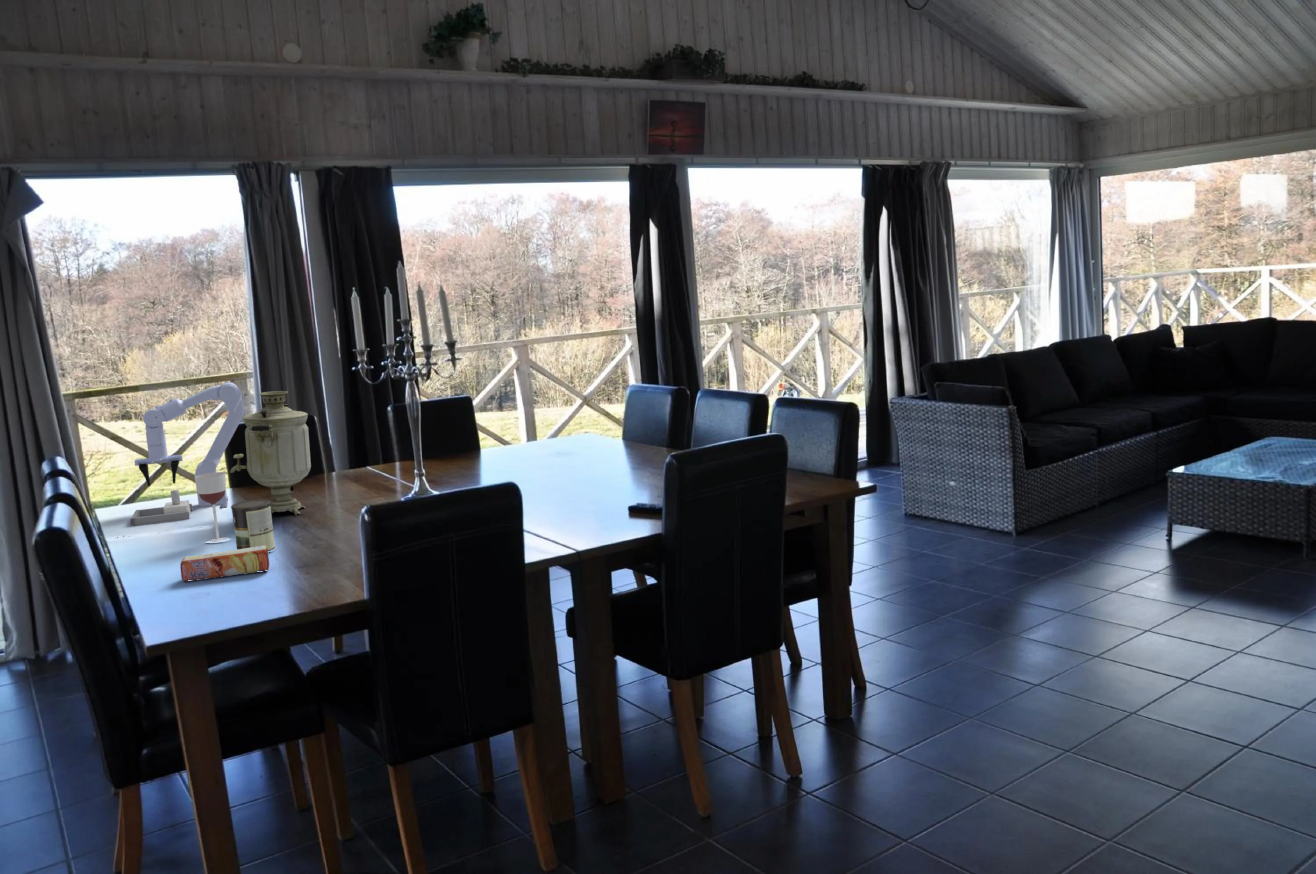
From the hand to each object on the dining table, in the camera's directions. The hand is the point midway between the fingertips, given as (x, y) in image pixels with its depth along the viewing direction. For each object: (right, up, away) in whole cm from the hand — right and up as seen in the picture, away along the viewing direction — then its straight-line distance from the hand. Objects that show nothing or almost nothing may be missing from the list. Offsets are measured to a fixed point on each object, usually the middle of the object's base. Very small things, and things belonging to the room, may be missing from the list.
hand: (161, 484), depth 351 cm
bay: (+6, -12, -12) cm, 18 cm away
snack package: (+56, -21, -81) cm, 100 cm away
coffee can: (+55, -17, -59) cm, 82 cm away
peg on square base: (+10, -10, -11) cm, 18 cm away
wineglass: (+37, -15, -43) cm, 59 cm away
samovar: (+43, -9, -8) cm, 44 cm away
